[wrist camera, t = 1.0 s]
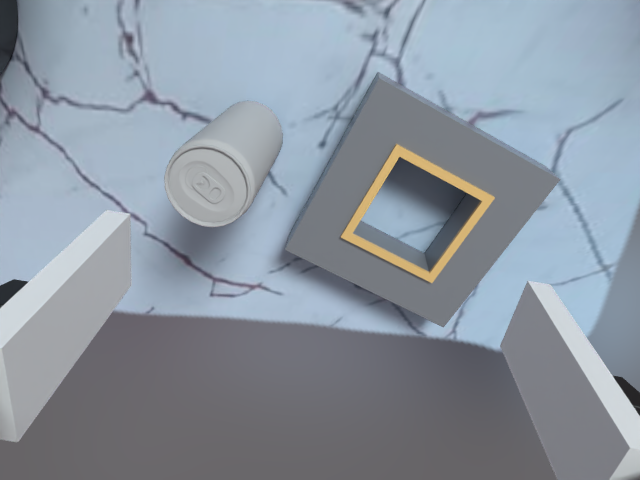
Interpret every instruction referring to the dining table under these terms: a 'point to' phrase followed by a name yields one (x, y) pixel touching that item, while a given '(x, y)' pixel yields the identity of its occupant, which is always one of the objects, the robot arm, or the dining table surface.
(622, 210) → the dining table surface
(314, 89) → the dining table surface
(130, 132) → the dining table surface
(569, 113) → the dining table surface
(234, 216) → the beverage can
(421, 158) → the socket plate
